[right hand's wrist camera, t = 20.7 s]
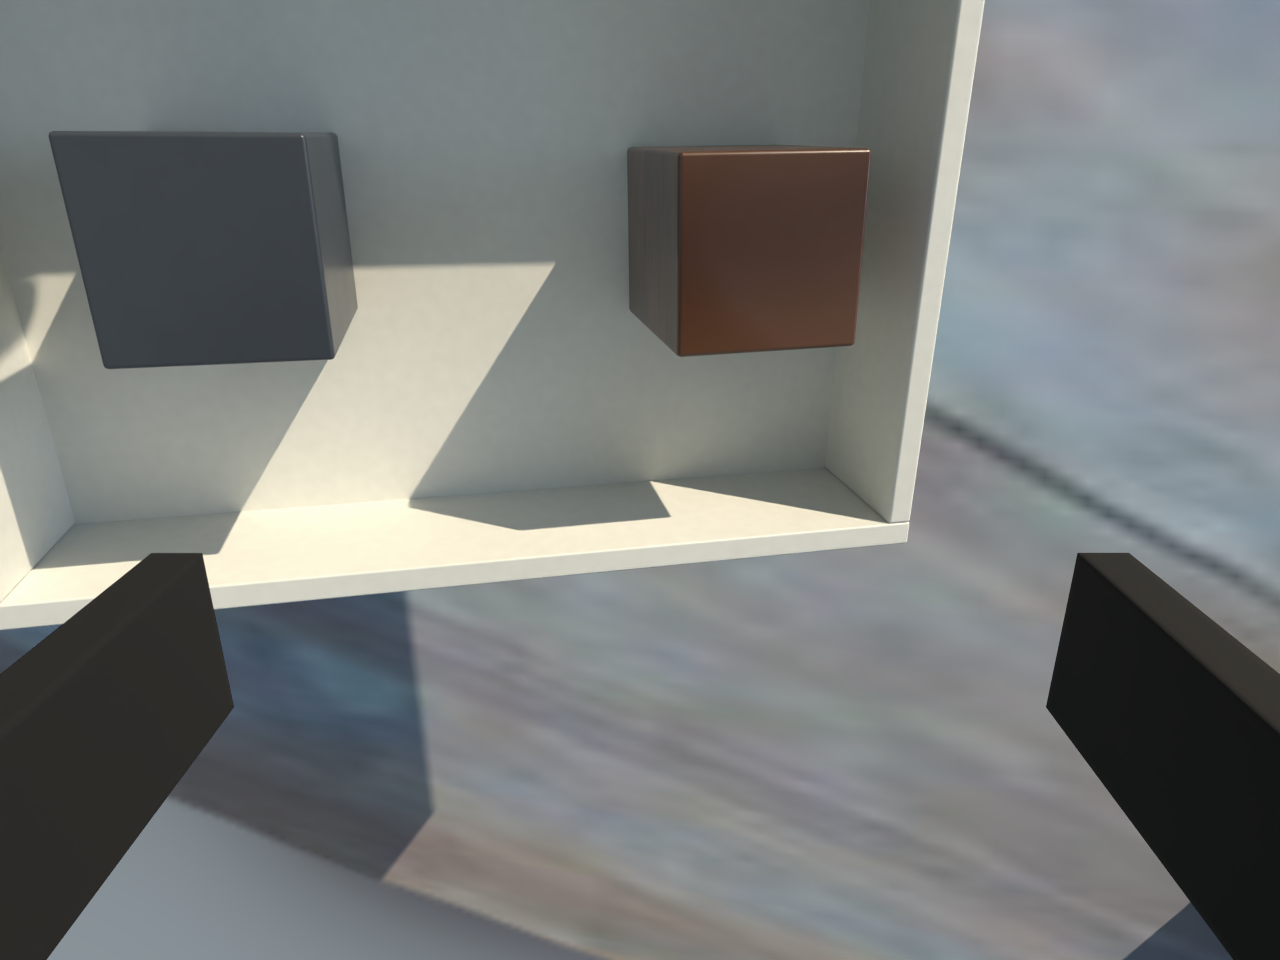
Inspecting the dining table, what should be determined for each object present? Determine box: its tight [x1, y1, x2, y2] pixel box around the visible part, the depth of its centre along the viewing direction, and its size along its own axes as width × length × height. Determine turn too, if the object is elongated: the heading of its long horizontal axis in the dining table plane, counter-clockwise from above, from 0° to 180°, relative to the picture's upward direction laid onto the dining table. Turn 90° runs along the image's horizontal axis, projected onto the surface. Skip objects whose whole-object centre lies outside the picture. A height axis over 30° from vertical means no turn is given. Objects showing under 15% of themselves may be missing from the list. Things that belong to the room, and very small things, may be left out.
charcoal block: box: [48, 131, 358, 369], centre depth 17 cm, size 4×4×5 cm
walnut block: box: [627, 145, 872, 357], centre depth 19 cm, size 4×4×5 cm
